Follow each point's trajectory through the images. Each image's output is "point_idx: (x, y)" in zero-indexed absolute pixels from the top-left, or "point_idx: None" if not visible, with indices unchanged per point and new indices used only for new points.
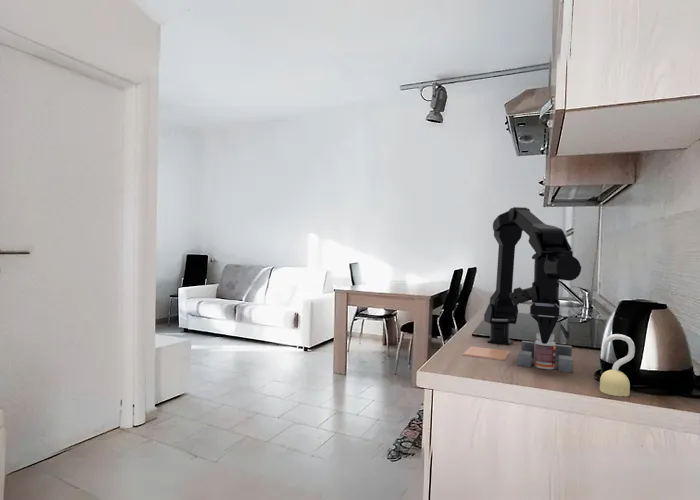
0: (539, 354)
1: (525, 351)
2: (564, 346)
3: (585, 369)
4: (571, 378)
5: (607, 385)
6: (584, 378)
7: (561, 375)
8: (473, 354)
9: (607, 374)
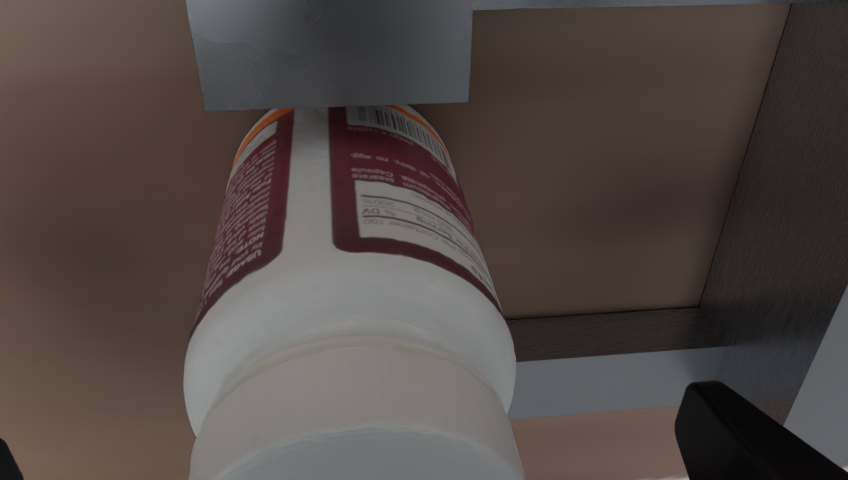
0: (219, 233)
1: (446, 1)
2: None
3: None
4: (59, 401)
5: None
6: (148, 463)
7: (101, 336)
8: None
9: None
